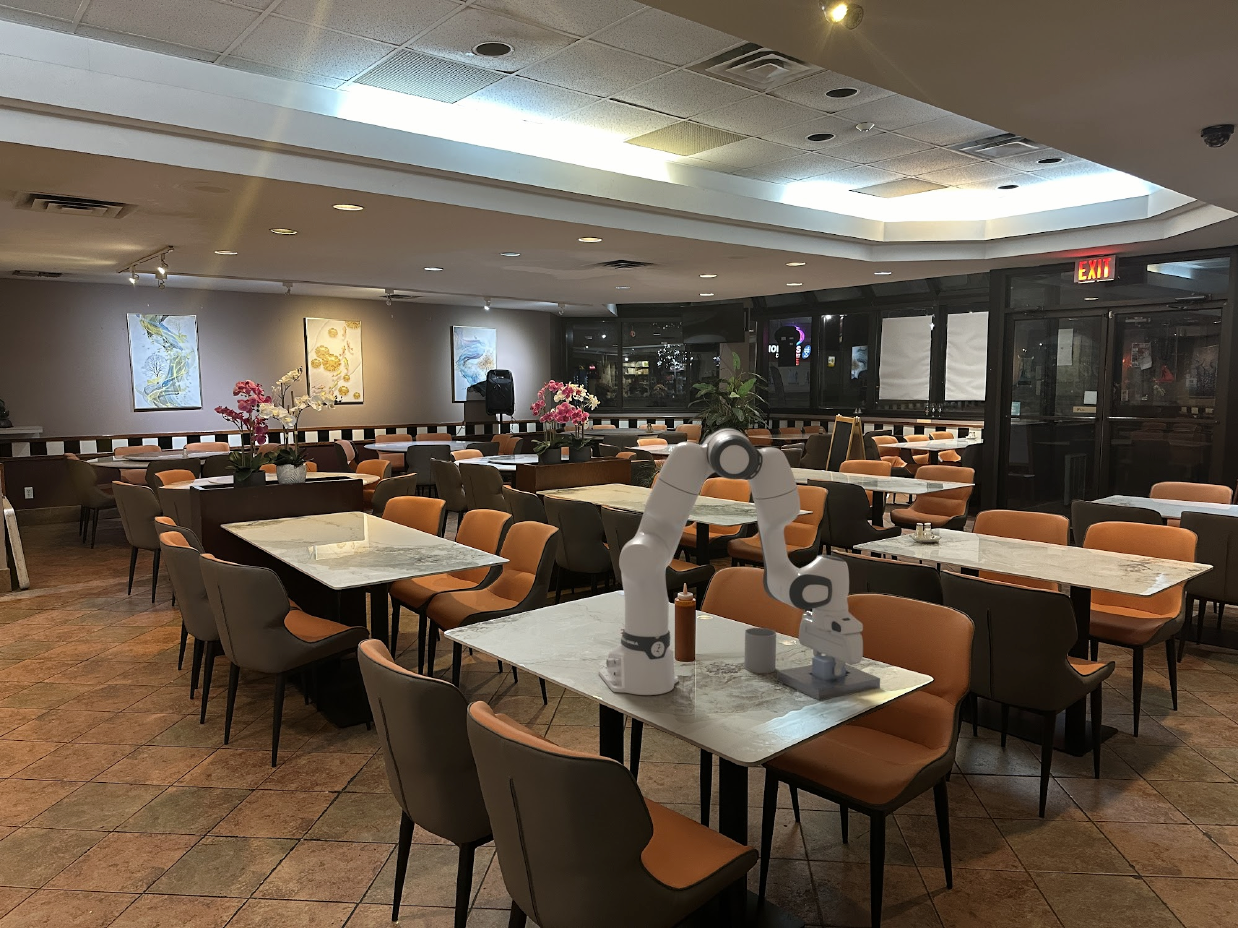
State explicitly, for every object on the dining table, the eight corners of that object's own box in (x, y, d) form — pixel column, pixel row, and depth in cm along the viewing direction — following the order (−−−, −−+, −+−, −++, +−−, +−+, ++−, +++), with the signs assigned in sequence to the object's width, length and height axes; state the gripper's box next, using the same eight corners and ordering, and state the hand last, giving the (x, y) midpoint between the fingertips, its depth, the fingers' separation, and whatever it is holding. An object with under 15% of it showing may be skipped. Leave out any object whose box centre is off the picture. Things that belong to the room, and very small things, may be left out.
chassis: (777, 680, 210) (777, 670, 210) (835, 669, 220) (836, 660, 220) (818, 700, 196) (819, 690, 196) (879, 687, 206) (880, 678, 205)
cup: (741, 670, 218) (742, 634, 217) (747, 661, 226) (748, 626, 225) (772, 674, 215) (773, 637, 214) (777, 665, 223) (778, 629, 222)
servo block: (811, 676, 208) (812, 653, 208) (837, 671, 212) (837, 649, 212) (823, 681, 204) (824, 658, 204) (849, 677, 208) (850, 654, 208)
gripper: (793, 610, 214) (792, 661, 215) (848, 629, 196) (846, 685, 197) (812, 607, 217) (810, 658, 218) (868, 626, 199) (866, 681, 200)
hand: (828, 671), depth 208 cm, fingers closed on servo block, 4 cm apart
